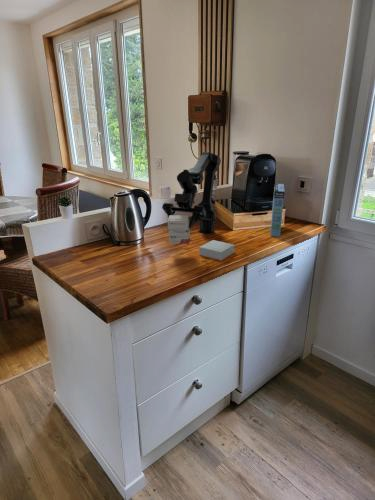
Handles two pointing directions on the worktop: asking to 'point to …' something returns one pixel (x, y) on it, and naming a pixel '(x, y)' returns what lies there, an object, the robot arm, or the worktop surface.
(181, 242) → the ink box
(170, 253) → the worktop surface
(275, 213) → the gum box
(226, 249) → the base block
